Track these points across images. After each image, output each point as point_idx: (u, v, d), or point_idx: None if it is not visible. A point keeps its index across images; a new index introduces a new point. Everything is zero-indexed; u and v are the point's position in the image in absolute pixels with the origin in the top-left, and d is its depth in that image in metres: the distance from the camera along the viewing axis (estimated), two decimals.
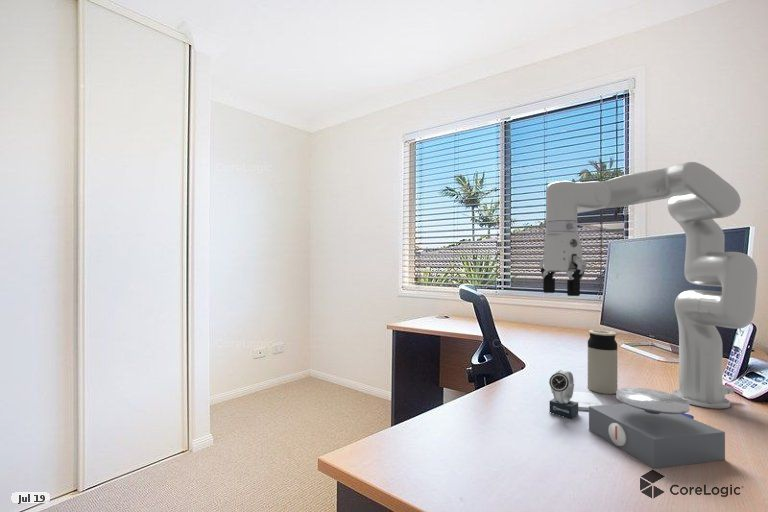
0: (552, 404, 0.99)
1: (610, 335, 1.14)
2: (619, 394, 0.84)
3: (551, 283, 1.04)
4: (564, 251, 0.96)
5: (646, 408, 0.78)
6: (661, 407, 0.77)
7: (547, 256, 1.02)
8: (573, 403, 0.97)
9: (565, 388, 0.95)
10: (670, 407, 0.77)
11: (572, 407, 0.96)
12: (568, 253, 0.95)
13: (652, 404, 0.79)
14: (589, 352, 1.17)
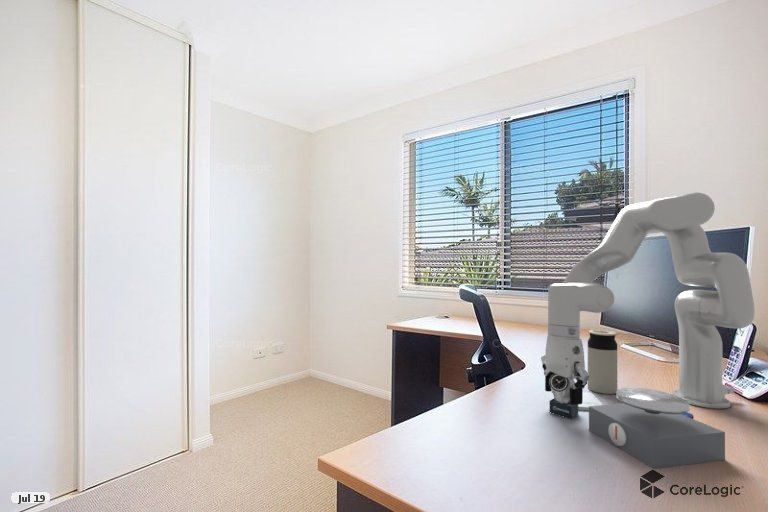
0: (552, 404, 0.99)
1: (610, 335, 1.14)
2: (619, 394, 0.84)
3: None
4: (566, 358, 0.94)
5: (646, 408, 0.78)
6: (661, 407, 0.77)
7: (549, 357, 1.01)
8: None
9: (565, 388, 0.95)
10: (670, 407, 0.77)
11: (572, 407, 0.96)
12: (571, 361, 0.94)
13: (652, 404, 0.79)
14: (589, 352, 1.17)
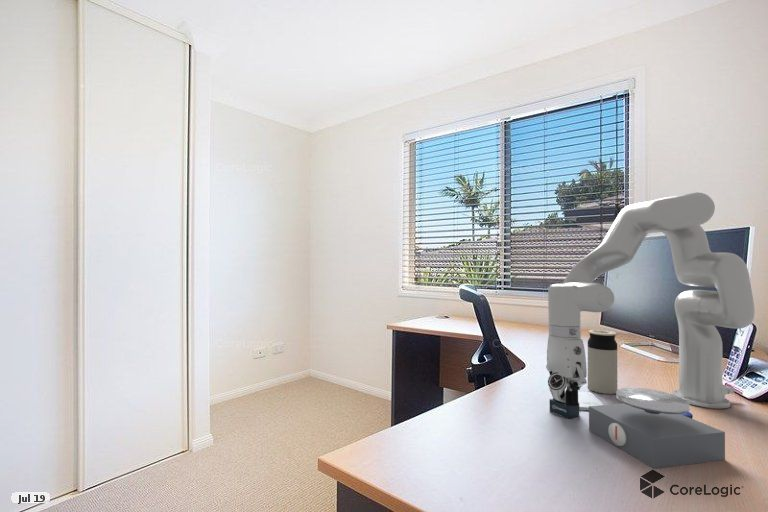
0: (552, 403, 0.99)
1: (610, 335, 1.14)
2: (619, 394, 0.84)
3: None
4: (568, 359, 0.94)
5: (646, 408, 0.78)
6: (661, 407, 0.77)
7: (550, 357, 1.01)
8: None
9: (561, 387, 0.96)
10: (670, 407, 0.77)
11: (570, 406, 0.96)
12: (572, 361, 0.94)
13: (652, 404, 0.79)
14: (589, 352, 1.17)
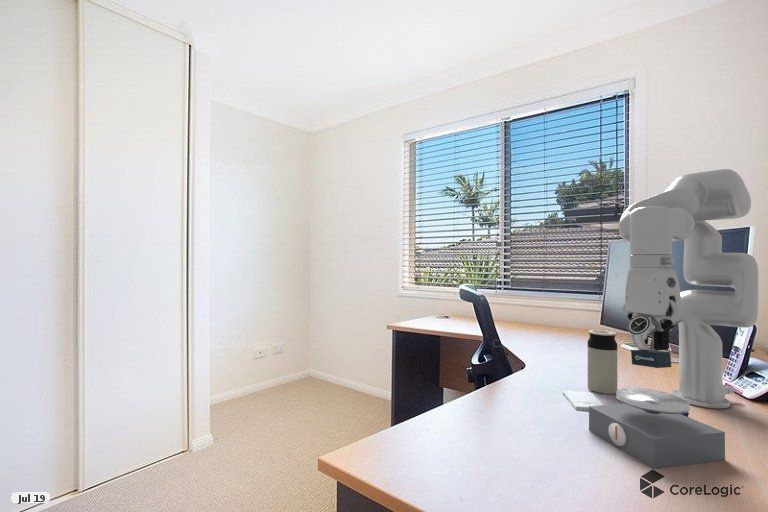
0: (634, 353, 0.84)
1: (610, 335, 1.14)
2: (619, 394, 0.84)
3: None
4: (659, 292, 0.79)
5: (646, 408, 0.78)
6: (661, 407, 0.77)
7: (632, 295, 0.85)
8: (662, 351, 0.81)
9: (645, 329, 0.80)
10: (670, 407, 0.77)
11: (658, 354, 0.79)
12: (665, 295, 0.78)
13: (652, 404, 0.79)
14: (589, 352, 1.17)
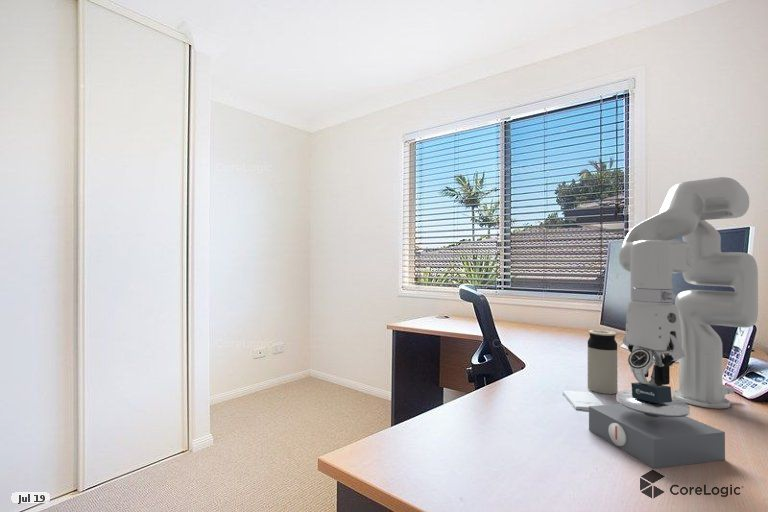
0: (635, 387, 0.83)
1: (610, 335, 1.14)
2: (619, 397, 0.84)
3: None
4: (660, 327, 0.78)
5: (646, 411, 0.78)
6: (661, 410, 0.77)
7: (632, 328, 0.85)
8: (662, 386, 0.81)
9: (646, 364, 0.80)
10: (670, 410, 0.77)
11: (659, 389, 0.79)
12: (666, 330, 0.78)
13: (652, 407, 0.79)
14: (589, 352, 1.17)
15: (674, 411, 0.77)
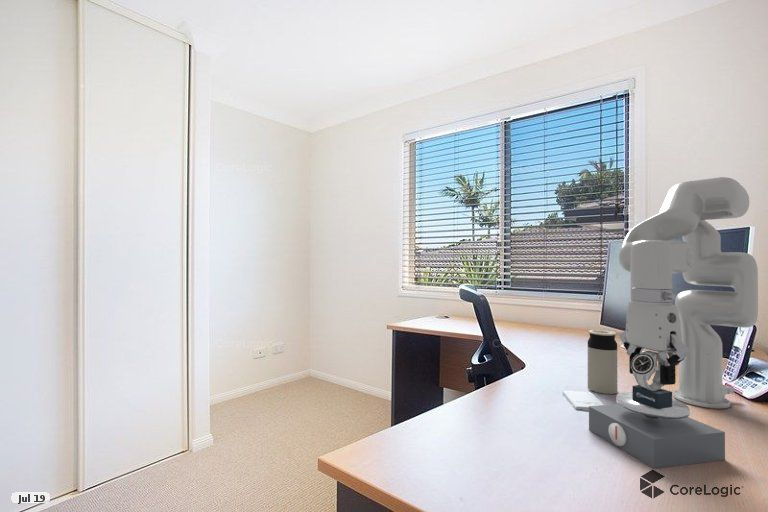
0: (635, 390, 0.83)
1: (610, 335, 1.14)
2: (619, 399, 0.84)
3: None
4: (660, 328, 0.78)
5: (646, 413, 0.78)
6: (661, 412, 0.77)
7: (632, 328, 0.85)
8: (664, 391, 0.80)
9: (649, 371, 0.79)
10: (670, 412, 0.77)
11: (660, 395, 0.79)
12: (666, 331, 0.78)
13: (652, 408, 0.79)
14: (589, 352, 1.17)
15: (674, 413, 0.77)
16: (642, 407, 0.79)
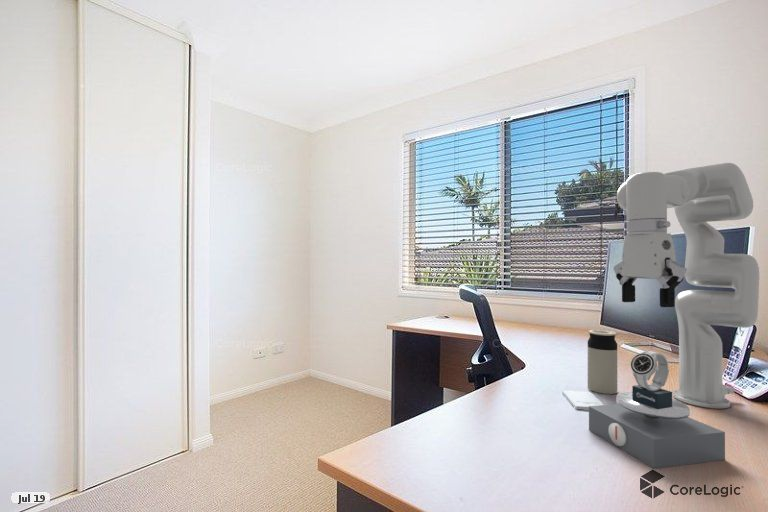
0: (635, 390, 0.83)
1: (610, 335, 1.14)
2: (619, 399, 0.84)
3: (631, 291, 0.90)
4: (655, 254, 0.81)
5: (646, 413, 0.78)
6: (661, 412, 0.77)
7: (628, 260, 0.87)
8: (664, 391, 0.80)
9: (649, 371, 0.79)
10: (670, 412, 0.77)
11: (660, 395, 0.79)
12: (661, 257, 0.81)
13: (652, 409, 0.79)
14: (589, 352, 1.17)
15: (674, 413, 0.77)
16: (642, 407, 0.79)
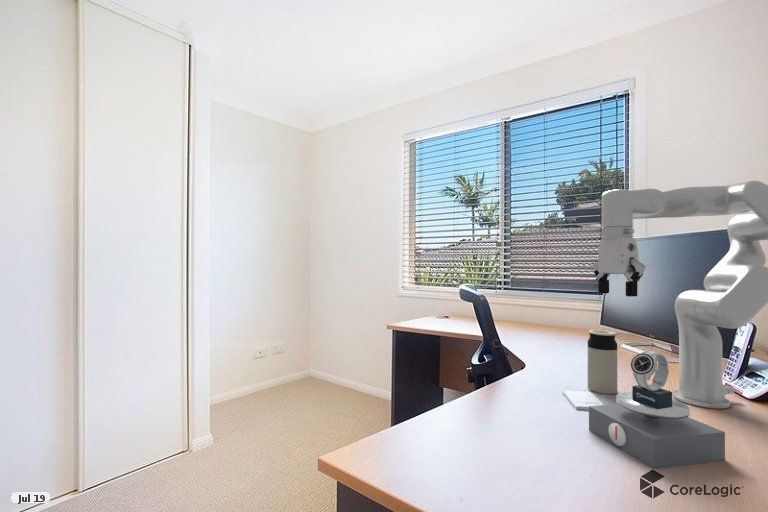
0: (635, 390, 0.83)
1: (610, 335, 1.14)
2: (619, 399, 0.84)
3: (606, 284, 1.11)
4: (622, 255, 1.03)
5: (646, 413, 0.78)
6: (661, 412, 0.77)
7: (603, 259, 1.09)
8: (664, 391, 0.80)
9: (649, 371, 0.79)
10: (670, 412, 0.77)
11: (660, 395, 0.79)
12: (626, 257, 1.02)
13: (652, 409, 0.79)
14: (589, 352, 1.17)
15: (674, 413, 0.77)
16: (642, 407, 0.79)
